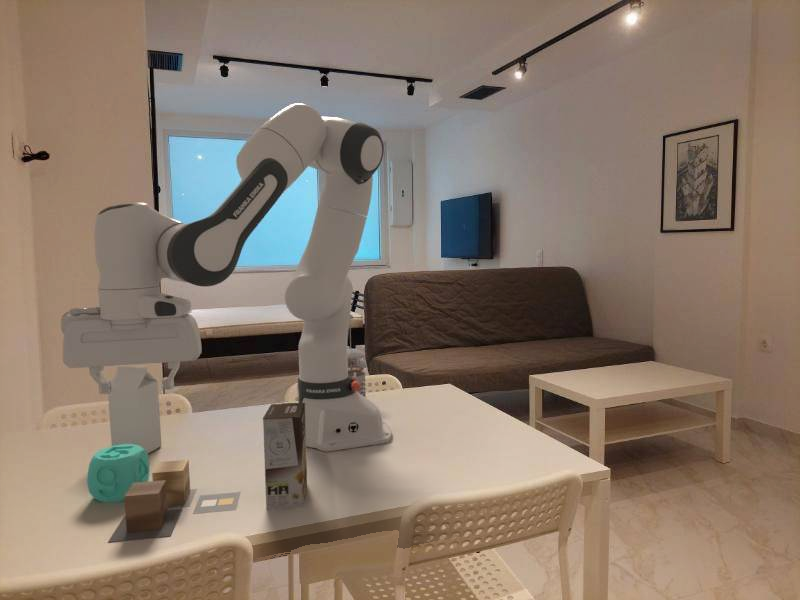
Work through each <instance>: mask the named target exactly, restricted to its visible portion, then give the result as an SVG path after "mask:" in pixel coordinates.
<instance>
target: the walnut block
mask: <svg viewBox="0 0 800 600" xmlns="http://www.w3.org/2000/svg"><path fill="white" fill-rule="evenodd" d="M124 510H125V514H126V529H127V533H135V532H145V531H155V530H161V528H162V526H163V524H164V522H165V520H166V518H167V516H168V510H169V508H168V507H167V490H166V480H162V481H153V480H151V481H148V482H138V483H133V484H132V486H131V487H130V489H129V490H128V492H127V493H126V495H125V496H124ZM125 514H124V515H125Z"/></svg>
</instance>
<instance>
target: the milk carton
mask: <svg viewBox="0 0 800 600" xmlns="http://www.w3.org/2000/svg"><path fill="white" fill-rule="evenodd" d="M116 367H117V372H115V374H114V377H112V380H111V381H112V388H113V390H112V392H111V393H110V394H108V395H107V396H108V397H107V399H108V411H109V412H108V414H109V427H110V441H111V446H115V445H122V444H135V445H139V446H140V447H142V448H143V449H144V450H145V451H146V452H147V454H148V455H149V454H150V453H152V452H153V451H155V450H156V449H158V448H160V447H162V430H161V429H162V428H161V417H160V416H161V413H160V398H159V397H160V396H159V384H158V380H157V379H156V378H155V377H154V376H153V375H152V374H150V373H149V372H148V367H147V366H137V365H135V366H132V365H131V366H130V365H116Z"/></svg>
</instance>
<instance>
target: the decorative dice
mask: <svg viewBox="0 0 800 600" xmlns="http://www.w3.org/2000/svg"><path fill="white" fill-rule="evenodd" d="M149 457H150V456H149V453H148V454H147V452H146V451H145V450H144V449H143V448H142V447H140V446H139V445H135V444H122V445H115V446H112V445H111V446H108V447H104V448H102V449H100V450H98V451H96V452H95V453H94V455H93V456H92V458H91V460H90V462H89V466H88V468H87V469H88V470H87V479H86V481H87V489H88V492H89V494H90V495H91V496H92V497H93V498H94V499H95V500H96V501H99V502H100V503H118V502H119V503H120V502H125V500H124V496H125V495H126V493H127V492H128V490H129V489H130V487H131V486H132V484H133V483H138V482H149V479H150V478H149V477H150V458H149Z"/></svg>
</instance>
